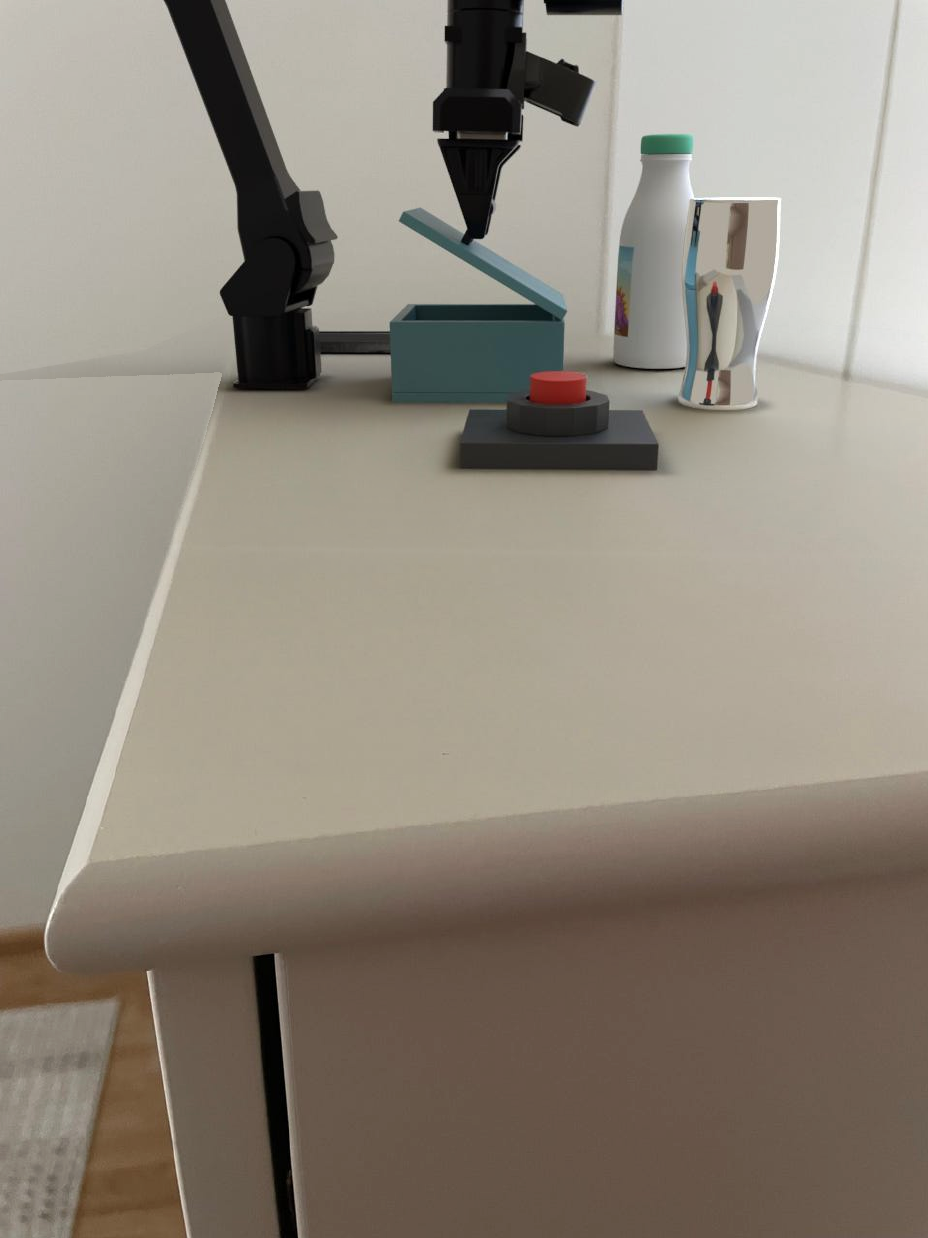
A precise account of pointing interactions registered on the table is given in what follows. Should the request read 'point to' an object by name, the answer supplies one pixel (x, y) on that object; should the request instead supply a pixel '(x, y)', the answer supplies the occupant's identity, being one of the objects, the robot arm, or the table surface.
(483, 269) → the lid
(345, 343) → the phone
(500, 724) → the table surface
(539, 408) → the control box
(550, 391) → the power button
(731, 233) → the beer glass
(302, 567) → the table surface
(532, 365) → the teal rectangular box
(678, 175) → the milk bottle
